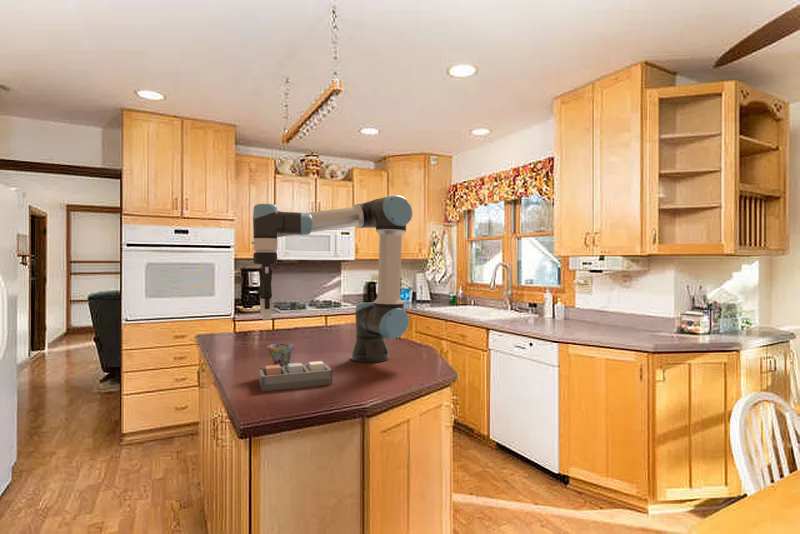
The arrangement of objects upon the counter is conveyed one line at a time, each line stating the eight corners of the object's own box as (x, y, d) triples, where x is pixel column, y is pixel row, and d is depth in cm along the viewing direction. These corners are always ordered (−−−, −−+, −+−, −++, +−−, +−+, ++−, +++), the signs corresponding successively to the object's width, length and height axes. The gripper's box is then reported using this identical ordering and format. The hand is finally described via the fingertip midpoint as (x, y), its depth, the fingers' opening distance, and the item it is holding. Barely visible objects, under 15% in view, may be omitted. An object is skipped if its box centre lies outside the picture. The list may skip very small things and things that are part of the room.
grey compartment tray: (324, 375, 160) (324, 362, 160) (332, 384, 149) (332, 370, 149) (259, 381, 152) (258, 368, 152) (262, 391, 141) (261, 376, 141)
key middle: (300, 369, 153) (300, 362, 153) (303, 372, 149) (303, 365, 149) (287, 371, 152) (287, 363, 152) (289, 374, 148) (289, 366, 148)
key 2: (321, 368, 156) (321, 361, 156) (324, 370, 152) (324, 363, 152) (308, 369, 154) (308, 362, 154) (311, 372, 150) (311, 364, 150)
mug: (296, 377, 157) (295, 347, 157) (268, 380, 154) (267, 349, 154) (291, 370, 168) (291, 341, 168) (265, 372, 165) (264, 343, 165)
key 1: (279, 371, 151) (279, 364, 151) (281, 374, 147) (281, 367, 147) (265, 373, 149) (265, 365, 149) (266, 376, 145) (266, 368, 145)
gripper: (252, 252, 160) (252, 313, 160) (254, 250, 136) (255, 322, 136) (274, 252, 162) (274, 312, 162) (280, 251, 139) (281, 321, 139)
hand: (265, 317), depth 149 cm, fingers open, 13 cm apart
